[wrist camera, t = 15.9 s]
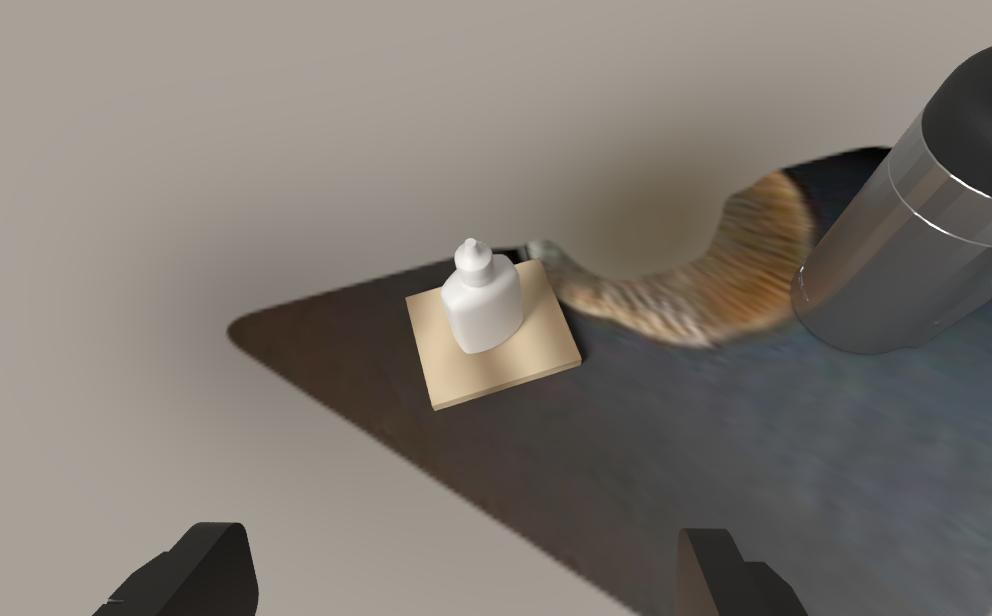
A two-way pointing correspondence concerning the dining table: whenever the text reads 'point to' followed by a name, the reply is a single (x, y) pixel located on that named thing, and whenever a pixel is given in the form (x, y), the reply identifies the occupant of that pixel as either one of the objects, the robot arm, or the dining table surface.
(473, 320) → the eye dropper bottle
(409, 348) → the dining table surface
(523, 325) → the oak board
